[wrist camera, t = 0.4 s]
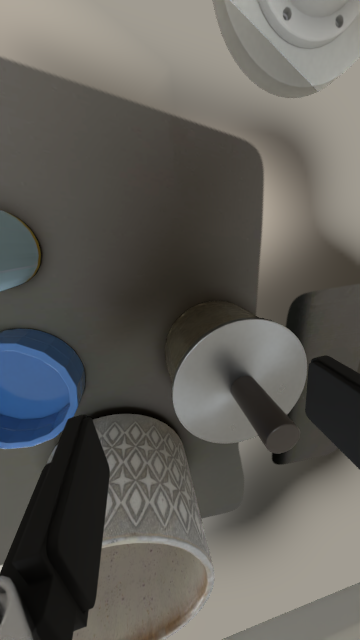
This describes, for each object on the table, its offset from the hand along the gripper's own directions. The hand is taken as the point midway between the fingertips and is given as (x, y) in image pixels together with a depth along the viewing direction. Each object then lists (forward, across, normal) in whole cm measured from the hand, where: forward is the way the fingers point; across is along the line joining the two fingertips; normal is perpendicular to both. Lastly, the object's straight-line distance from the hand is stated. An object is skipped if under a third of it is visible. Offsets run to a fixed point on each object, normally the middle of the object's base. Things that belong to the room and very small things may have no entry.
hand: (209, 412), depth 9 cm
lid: (+10, -6, +7) cm, 13 cm away
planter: (+18, +10, +22) cm, 30 cm away
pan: (+18, +17, +6) cm, 25 cm away
